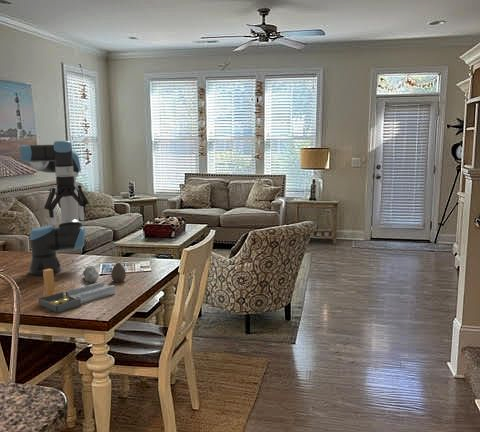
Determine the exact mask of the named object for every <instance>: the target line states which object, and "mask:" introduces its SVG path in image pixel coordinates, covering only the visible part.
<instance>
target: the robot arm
mask: <svg viewBox="0 0 480 432" xmlns="http://www.w3.org/2000/svg"><path fill="white" fill-rule="evenodd" d="M72 145H73V144H72V141H70V140H55V141H54V142H53V144H22V145H20V146H19V157H20V160H21V162H22V163H23V162H24V163H29V165H30V167H31V168H33V169H34V170H36V171H39V172H42V173H50V174H51V173H54V174H55V179H56V180H55V181H56V187H50V188H49V194H48V197H47V199H46V202H45V204H44V207H43V209H45V210H47V211H48V214H49V215H48V216H49V218H51V225H43V226H39V227H36V228H33V229H32V230H31V231H30V235H29V236H30V238H29V240H30V248H31V261H30V265H29V269H28V270H29V275H32V276H33V275H34V276H43V270H45V269H53V273H54V274H57V273H58V272H60V271H61V270H62V267H61V266H62V265H61V263H60V261H59V259H58V257H57V251H58V252H59V251H68V250H69V251H70V250H71V251H72V250H75V251H76V250H79V249H83V248H84V247H85V233H86V226H84V225H83V222H81V221H85V214H84V213H86V206H87V205H89V201H88V199H87V197H86V195H85V194H84V192H83V189H82V186H81V184H80V185H79V184H77V177H78V176H79V173H80V172H81V171H82V170H81V169H82V167H81V162H80V158H79V154H78V152H77V151H76V150H73V146H72ZM56 193H57V194H56ZM55 194H56V195H55ZM59 202H60V215H61V216H60V218H61V221H60V223H58V227H57V228H55V226H57V217H56V214H57V213H56V210H55V208H56V207H57V205H58V203H59Z"/></svg>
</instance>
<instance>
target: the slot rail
mask: <svg viewBox="0 0 480 432" xmlns="http://www.w3.org/2000/svg"><path fill="white" fill-rule="evenodd" d="M114 294H116V286H115V285H113V284H112V285H105V282H104V281H99V282H95V283H92V284H88V285H84V286H81V287H77V288H74V289H70V290H66V291H65V297H67V298H70V299H72V300H76V299H81V305H82V304H85V303H88V302H91V301H95V300H99V299H102V298H104V297H108V296H111V295H114Z"/></svg>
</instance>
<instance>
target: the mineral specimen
mask: <svg viewBox="0 0 480 432" xmlns="http://www.w3.org/2000/svg"><path fill="white" fill-rule="evenodd" d="M82 275H83V276H84V280H85V281H86V282H90V283H92V284H93V282H96V281H97V280H98V278H99V277H100V274H99V272H98V270H97V269H96V268H95V266H93V265H88V266H86V267H85V268H84V270H83V272H82Z"/></svg>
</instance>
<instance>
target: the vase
mask: <svg viewBox="0 0 480 432" xmlns="http://www.w3.org/2000/svg"><path fill="white" fill-rule="evenodd" d="M114 264H115V265H114V266H113V267H112V269H111V271H110V277H111V279H112V281H113V282H115V283H122V282H123V281H124V280H125V279H126V277H127V271H126V268H125V267H124V266H123V264H122V263H121V262H116V263H114Z"/></svg>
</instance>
